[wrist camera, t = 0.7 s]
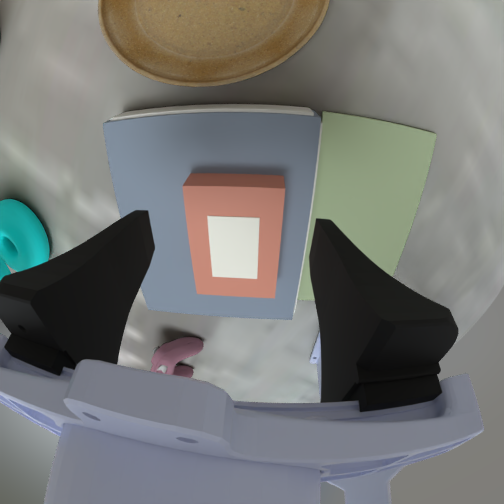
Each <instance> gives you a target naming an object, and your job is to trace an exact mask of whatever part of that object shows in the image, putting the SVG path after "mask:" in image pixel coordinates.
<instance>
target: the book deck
mask: <svg viewBox="0 0 504 504" xmlns="http://www.w3.org/2000/svg"><path fill="white" fill-rule="evenodd" d="M322 125H323V123H322V122H321V117H320V116H319V115H318V114H317V113H316V112H315V111H314V110H311V109H310V108H307V107H296V106H282V105H262V104H207V105H187V106H173V107H162V108H152V109H143V110H136V111H128V112H123V113H121V114H119V115H117V116H114V117H112V118H110V120H109V121H107V122H105V123H103V129H104V136H105V142H106V149H107V155H108V160H109V166H110V171H111V176H112V181H113V186H114V191H115V195H116V200H117V204H118V208H119V213H120V217H121V218H123V217H124V216H126V215H128V214H129V213H131V212H133V211H135V210H148V212H149V218H150V223H151V228H152V234H153V239H154V244H155V251H154V254H153V257H152V261H151V264H150V267H149V269H148V271H147V273H146V275H145V278H144V280H143V282H142V284H141V289H142V292H143V295H144V298H145V301H146V304H147V307H148V310H156V311H165V312H175V313H186V314H197V315H209V316H223V317H239V318H258V319H283V320H292V317H293V314H294V313H295V308H296V303H297V298H298V292H299V287H300V282H301V276H302V270H303V264H304V259H305V253H306V247H307V240H308V234H309V228H310V221H311V214H312V207H313V200H314V193H315V185H316V178H317V170H318V161H319V153H320V144H321V134H322ZM190 173H224V174H260V175H280V176H284V183H285V198H284V210H283V221H282V232H281V243H280V253H279V263H278V273H277V283H276V292H275V298H255V297H236V296H219V295H204V294H197V291H196V285H195V279H194V273H193V266H192V259H191V252H190V245H189V238H188V230H187V222H186V214H185V206H184V197H183V187H182V186H183V184H184V183H185V181H186V180H187V178H188V176H189V175H190Z"/></svg>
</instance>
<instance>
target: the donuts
mask: <svg viewBox="0 0 504 504" xmlns="http://www.w3.org/2000/svg"><path fill="white" fill-rule="evenodd" d="M49 252H50V249H49V242H48V238H47V235H46V232H45V230H44V228H43V226H42V224H41V222H40V221H39V219H38V218H37V216H36V215H35V214H34V213H33V212H32V210H30V209H29V208H28V207H27V206H26V205H24V204H23V203H21V202H19V201H17V200H14V199H5V200H2V201H0V280H1V279H2V278H3V277H4V276H5V275H9V274H11V272H10V270H9V268H8V267H7V265H8V266H10V267H11V268H12V269H14V270H15V271H17V272H19V271H23V270H26V269H29V268H32V267H34V266H37V265H39V264H42V263H44V262H47V261H48V259H49ZM6 264H7V265H6Z"/></svg>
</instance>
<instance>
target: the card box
mask: <svg viewBox="0 0 504 504" xmlns="http://www.w3.org/2000/svg"><path fill="white" fill-rule="evenodd" d="M182 187H183V197H184V206H185V214H186V222H187V230H188V238H189V245H190V252H191V259H192V266H193V273H194V279H195V285H196V291H197V294H204V295H219V296H236V297H255V298H275V292H276V283H277V273H278V263H279V253H280V243H281V232H282V221H283V210H284V198H285V183H284V176H280V175H260V174H224V173H190V175H189V176H188V178H187V180H186V181H185V183H184V184H183V186H182Z"/></svg>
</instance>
